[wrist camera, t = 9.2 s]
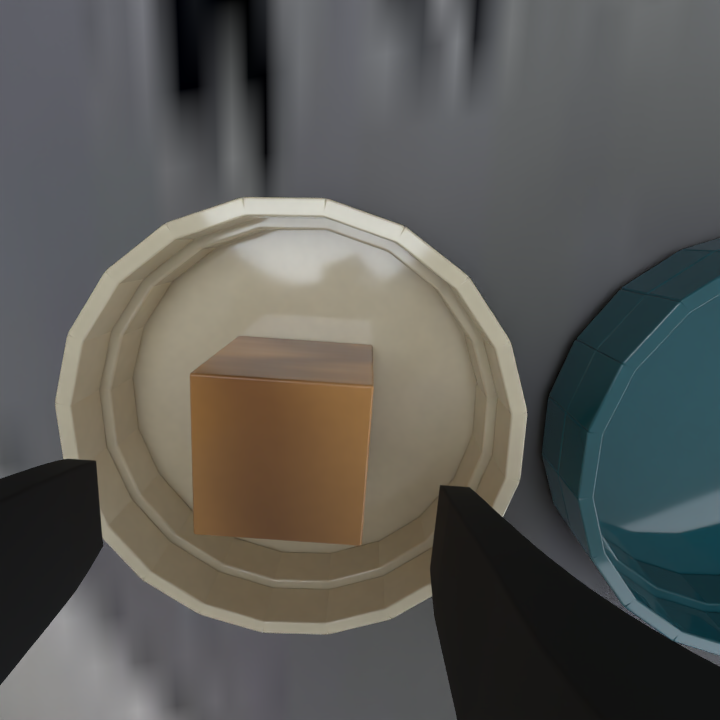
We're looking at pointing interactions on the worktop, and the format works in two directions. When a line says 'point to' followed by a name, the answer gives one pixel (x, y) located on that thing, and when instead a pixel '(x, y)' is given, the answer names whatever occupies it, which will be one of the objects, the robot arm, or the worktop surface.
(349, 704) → the worktop surface
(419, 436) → the cream bowl
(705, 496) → the teal bowl
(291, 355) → the block
